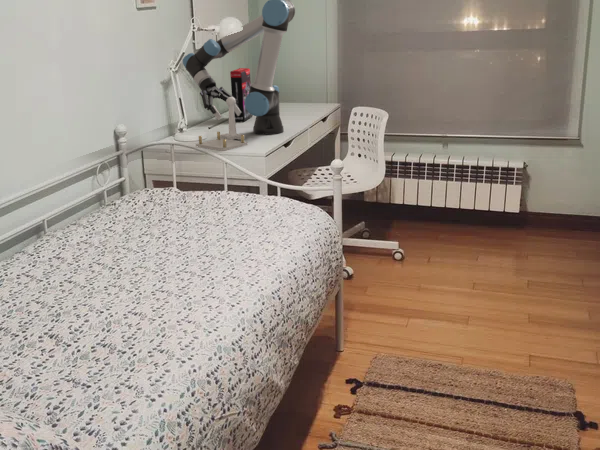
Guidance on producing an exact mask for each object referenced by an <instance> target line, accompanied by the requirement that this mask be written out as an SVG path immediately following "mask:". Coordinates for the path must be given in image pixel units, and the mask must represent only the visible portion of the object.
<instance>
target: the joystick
mask: <svg viewBox="0 0 600 450" xmlns="http://www.w3.org/2000/svg"><path fill="white" fill-rule="evenodd" d="M225 103H226V105H227V107H228V133H220V138H221V139H228V140H239V141H241V135H244V136H245V134H243V133H242V134H241V133H237V127H236V122H235V114H234V105H235V103H236V100H235V98H233V97H229V98H227V100H226V102H225Z"/></svg>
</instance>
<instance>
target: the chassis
mask: <svg viewBox="0 0 600 450" xmlns="http://www.w3.org/2000/svg"><path fill="white" fill-rule="evenodd" d="M216 135H217V136H216V138H217V139H211V140H208V141H205V142H203V136H202V135H198V143H196V144H195V147H196V146H198V147H197V148H200V149H201V148H202V149H208V150H209V149H210V150H216V151H221V152H225V151H229V150H233V149H237V148H241V147H244V146H248V144H249V143H248V141H245V134H244V135H241V140H237V139H234V140H228V139H221V138H220V135H221V132H220V131H216Z"/></svg>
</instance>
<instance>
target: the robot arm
mask: <svg viewBox="0 0 600 450" xmlns="http://www.w3.org/2000/svg"><path fill="white" fill-rule="evenodd" d="M295 14H296V8H295V5H294V3H293V2H292V1H291V0H267V1H266V2H265V3H264V4H263V7H262V10H261V15H259V16H258V17H256V18H254V19H252V20H251V21H249V22H247V23H245V24H244V25H242V26H241V27H243V30H242V31H240V32H237V33H234V34H231V35H228V34H227V35H228V36H227V35H225V36H223V37H221V38H220V39H218V40H217V41H216V40H214V39H213V38H209V39H208V40H207V41H206V42H204V44H203V45H202V46H201V47H200V48H199V49H198V50H197V52H195V53H193V52H190V53H187V55H185V56H184V57H183V58H182V61H181V62H182V65H183V66H184V68H185V70H186V71H187V73H188V74H189V76H191V77H192V79H193V80H194V82H195V83H196V85H197V86H198V87H199V89H200V93H199V94H200V96H201V100H202V103H203V104H202V105H203V108H204V109H206V110H207V111H210V112H211V114H213V115H214V117H215V118H216V120H218V121H220V119H221V118H222V117H223V116H222V115H221V113H220V112H219V110H218V109H217V107H216V106H215V105H213V100H214V99H221V100H222V101H224V102H225V103H226V100H227V98H229V97H233V96H232V93H231V94H230V93H229V92H228V91H227V90H226V89H225V88H224V87H223V86H220V87H218V86H217V84H216V81H215V80H214V78H213V77H212V76H211V74H210V73H209V72H208V70H207V69H206V67H207V66H208V65H209V64H210V62H211V61H213V60H216V59H222V58H224V57H225V56H226V55H227V54H229V53H231V52H232V51H234V50H235V49H237V48H239V47H241V46H243V45H244V44H246V43H247V42H249V41H252V40H253V39H255V38H257V37H259V36H261V35H262V34H263V37H262V41H261V47H260V51H259V57H258V62H257V65H256V71H255V77H254V81H253V82H252V83H251V85H250V90H249V94H248V95H247V97H246V98H245V108H246V110H247V111H248V112H249V113H250V114H251V115H253V116H255V120H254V124H253V130H252V131H253V133H255V134H258V135H275V134H280V133H283V132H284V125H283V123H282V119H281V115H280V114H281V113H280V87H279V86H278V85H273V84H274V78H275V73H276V68H277V65H278V59H279V55H280V49H281V45H282V38H283V35H284V34H285V33H287V31H288V27H289V23H290V22H292V20H293V19H294V17H295ZM233 98H235V97H233ZM235 100H237V99H236V98H235ZM234 111H235V113H236V114H237V116H239V115H240V114H241V113H242V112H241V111H240V109H239V108H238V106H237V104H236V103H235V105H234Z"/></svg>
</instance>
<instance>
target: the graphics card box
mask: <svg viewBox="0 0 600 450" xmlns="http://www.w3.org/2000/svg"><path fill="white" fill-rule="evenodd" d="M229 72H230V87H231V95H232V96H233V97H235V98H236V99H237V100H236V104H237V106H238V108H239V109H240V111H241V112H242V113H241V114H240V115H239V116H237V114H236V113H235V111H234V114H235V123H237V122H238V123H241V122H242V123H243V122H247V120H249V119H251V118H252V117H253V116H254V115H251V114H250V113H249V112H248V111H247V110H246V108H245V98H246V97H247V95H248V94H249V90H250V85H251V84H252V83H251V69H250V68H247V67H242V68H241V67H240V68H237V69H234V70H231V71H229Z"/></svg>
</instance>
